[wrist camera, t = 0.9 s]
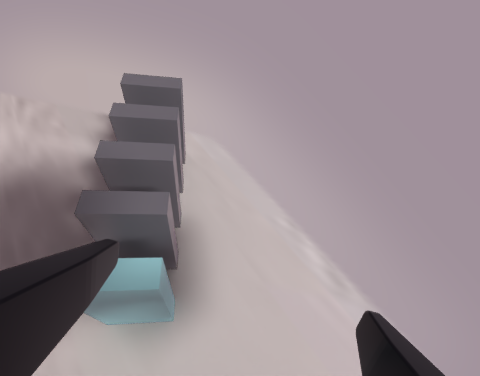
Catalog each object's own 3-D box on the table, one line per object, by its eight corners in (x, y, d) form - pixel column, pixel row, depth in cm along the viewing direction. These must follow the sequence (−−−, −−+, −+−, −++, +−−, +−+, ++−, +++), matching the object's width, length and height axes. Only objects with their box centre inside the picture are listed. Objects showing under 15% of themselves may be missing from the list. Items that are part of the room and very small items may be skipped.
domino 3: (180, 227, 25) (172, 160, 17) (127, 227, 24) (94, 157, 16) (181, 213, 26) (174, 144, 18) (130, 213, 25) (100, 140, 17)
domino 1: (184, 163, 30) (180, 88, 22) (140, 162, 29) (120, 83, 21) (185, 153, 31) (181, 78, 23) (142, 152, 30) (123, 73, 22)
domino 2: (182, 192, 28) (177, 120, 20) (134, 191, 27) (108, 115, 19) (183, 181, 29) (178, 107, 21) (137, 179, 28) (113, 102, 20)
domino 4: (177, 269, 23) (167, 214, 15) (118, 270, 22) (74, 213, 14) (178, 252, 24) (169, 192, 16) (122, 253, 23) (82, 190, 15)
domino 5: (173, 321, 20) (159, 289, 12) (107, 324, 20) (46, 293, 12) (174, 300, 21) (162, 257, 13) (111, 302, 21) (58, 259, 13)
